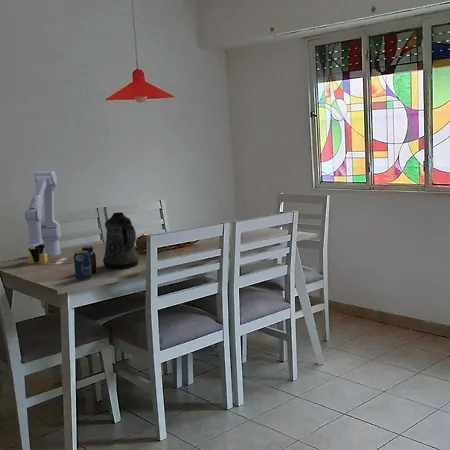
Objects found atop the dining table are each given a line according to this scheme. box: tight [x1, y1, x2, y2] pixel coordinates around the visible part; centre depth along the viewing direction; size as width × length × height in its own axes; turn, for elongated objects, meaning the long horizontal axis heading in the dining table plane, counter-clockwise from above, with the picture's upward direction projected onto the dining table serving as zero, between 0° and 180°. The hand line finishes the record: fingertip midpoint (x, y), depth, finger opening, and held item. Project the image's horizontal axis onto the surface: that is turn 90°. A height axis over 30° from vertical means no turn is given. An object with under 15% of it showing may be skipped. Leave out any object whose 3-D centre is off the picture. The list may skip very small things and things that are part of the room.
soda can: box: [73, 249, 93, 281], centre depth 263 cm, size 7×7×12 cm
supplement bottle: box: [81, 245, 98, 275], centre depth 274 cm, size 7×7×12 cm
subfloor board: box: [21, 256, 74, 267], centre depth 299 cm, size 16×24×1 cm, turn 90°
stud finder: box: [27, 252, 48, 264], centre depth 298 cm, size 4×8×4 cm, turn 91°
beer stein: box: [102, 212, 140, 271], centre depth 283 cm, size 16×19×25 cm
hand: (38, 260), depth 298 cm, fingers closed on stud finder, 4 cm apart
